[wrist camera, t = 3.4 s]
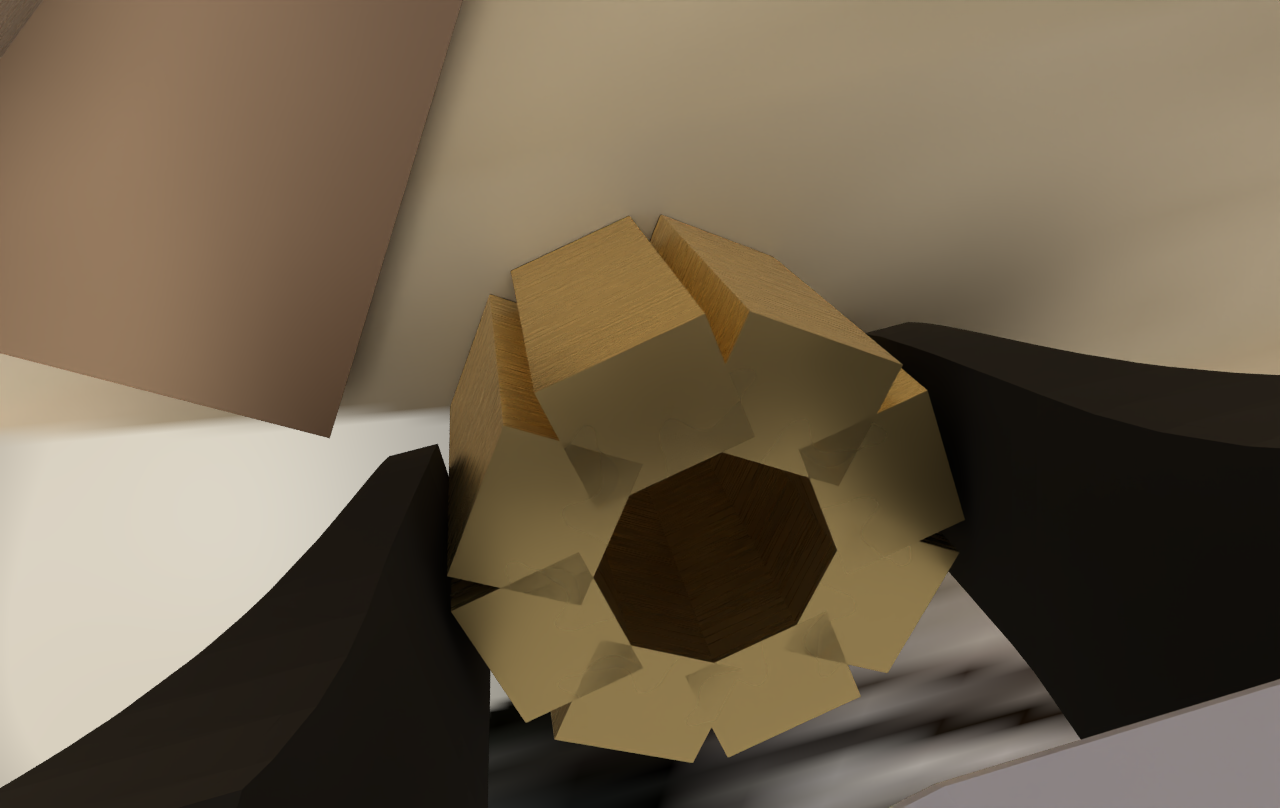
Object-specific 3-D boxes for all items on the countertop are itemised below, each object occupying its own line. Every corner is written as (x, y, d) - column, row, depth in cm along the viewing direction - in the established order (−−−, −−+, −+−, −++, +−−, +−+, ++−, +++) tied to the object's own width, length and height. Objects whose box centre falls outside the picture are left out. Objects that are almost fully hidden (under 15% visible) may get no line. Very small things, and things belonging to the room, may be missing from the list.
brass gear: (879, 296, 13) (1042, 413, 9) (731, 589, 14) (821, 784, 11) (534, 166, 11) (570, 247, 8) (413, 512, 13) (395, 712, 9)
